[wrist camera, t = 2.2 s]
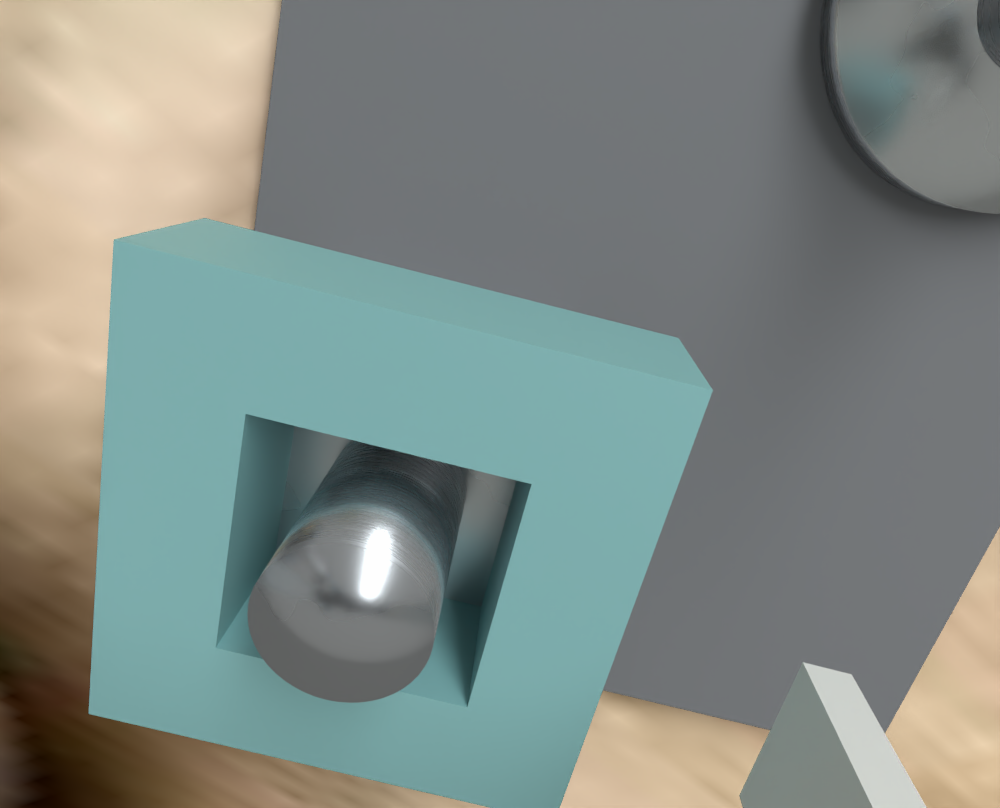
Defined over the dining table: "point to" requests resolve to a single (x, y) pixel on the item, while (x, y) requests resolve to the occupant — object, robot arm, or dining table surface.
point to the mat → (688, 299)
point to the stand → (370, 564)
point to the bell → (919, 94)
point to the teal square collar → (392, 425)
